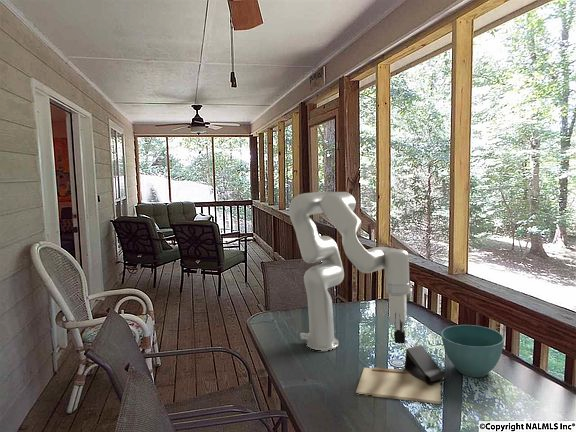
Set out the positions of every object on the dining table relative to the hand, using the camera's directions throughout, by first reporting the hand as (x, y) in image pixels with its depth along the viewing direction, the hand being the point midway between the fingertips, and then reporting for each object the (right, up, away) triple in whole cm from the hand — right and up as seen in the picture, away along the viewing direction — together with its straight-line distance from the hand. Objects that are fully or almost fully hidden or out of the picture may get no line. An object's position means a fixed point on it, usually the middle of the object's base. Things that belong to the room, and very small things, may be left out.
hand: (400, 342), depth 134 cm
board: (-2, -11, -8) cm, 14 cm away
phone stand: (+4, -5, 0) cm, 7 cm away
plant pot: (+23, -9, -2) cm, 25 cm away
